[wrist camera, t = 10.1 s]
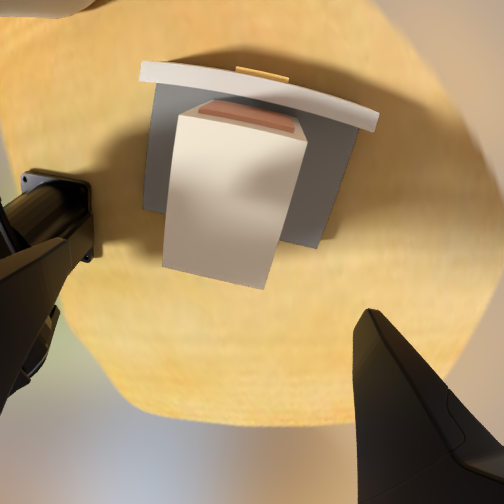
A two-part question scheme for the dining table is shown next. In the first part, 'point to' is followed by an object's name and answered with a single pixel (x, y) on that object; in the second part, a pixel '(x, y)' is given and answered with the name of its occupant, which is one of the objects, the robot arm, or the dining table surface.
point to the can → (42, 8)
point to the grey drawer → (269, 98)
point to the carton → (230, 190)
